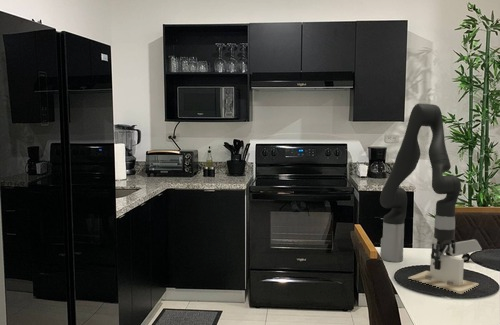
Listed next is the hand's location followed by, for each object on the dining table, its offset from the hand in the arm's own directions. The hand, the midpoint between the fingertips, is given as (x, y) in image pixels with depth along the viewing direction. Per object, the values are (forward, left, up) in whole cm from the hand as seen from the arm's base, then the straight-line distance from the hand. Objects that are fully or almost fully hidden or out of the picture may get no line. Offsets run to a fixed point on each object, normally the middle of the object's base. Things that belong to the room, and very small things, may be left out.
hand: (442, 267), depth 198 cm
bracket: (-16, +34, -4) cm, 38 cm away
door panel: (+2, 0, -5) cm, 6 cm away
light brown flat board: (0, 0, -6) cm, 6 cm away
